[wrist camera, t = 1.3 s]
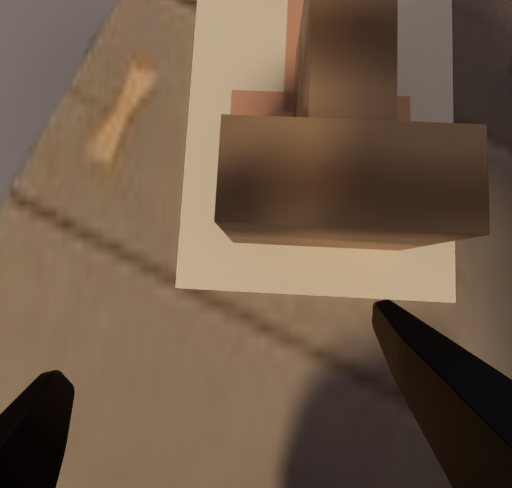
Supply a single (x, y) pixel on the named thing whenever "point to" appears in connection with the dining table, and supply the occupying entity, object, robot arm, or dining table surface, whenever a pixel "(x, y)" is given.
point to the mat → (282, 104)
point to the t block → (350, 150)
